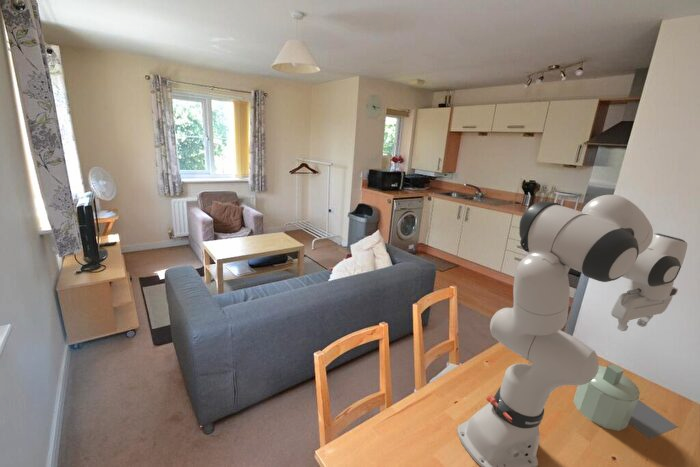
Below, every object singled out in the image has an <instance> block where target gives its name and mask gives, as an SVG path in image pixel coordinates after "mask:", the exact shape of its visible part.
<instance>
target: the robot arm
mask: <svg viewBox="0 0 700 467" xmlns="http://www.w3.org/2000/svg"><path fill="white" fill-rule="evenodd" d="M518 230H519V232H518V233H519V237H520V242H519V243H520V246H521V249H522V250H524V251H525V252H527V253H528V254H527V255H526V256H525V257H523V258H522V259H521V260H520V261H519V263H518V264H517V266H516V269H515V274H514V277H513V278H514V279H513V287H512V290H513V294H512V295H513V306H512V307H503V308H501V309H498V310H497V311H496V312H495V313H494V314H493V316H492V317H491V320H490V323H489V328H490V329H489V330H490V334H491V336H492V337H493V338H494V339H495V340H497V341H498V343H500V344H501V345H502V346H504V347H505V348H506V349H508V350H509V351H511V352H513V353H515V354H517V355H518V356H520V357H521V358H523V359H525V361H528V362H529V363H531V364H529V363H514V364H511V365H510V366H508V367H507V369H506V370H505V372H504V375H503V379H502V381H501V385H500V386H499V388H498V389H497V390H496V392H495V394H494V396H493V395H492V394H488V395H487V397H486V399H485V400H486V401H487V402H488V403H487V404H485V405H484V406H483V407H482V408H480V409H479V410H478V411H477V412H475V413H474V414H473V415H471V417H470V418H469V419H468V420H466V421H465V422H463V423H460V424H459V425H458V427H457V429H456V431H457V435H458V436H457V437H458V438H459V440H460V442H461V444H462V446H463V447H464V449H465V450H466V452H467V453H468V454H469V456H470V457H471V458H472V459H473V460H474V461H475V462H476V463H477V464H478V465H479V466H480V467H538V465H539V460H538V458H537V454H538V449H539V444H540V439H541V434H540V424H541V423H542V420H543V418H544V415H545V406H546V403H547V401H548V398H549V397H550V395H551V393H553V391H554V390H556V389H557V388H558V389H559V388H560V387H563V386H578V385H583V384H586V383H588V382H590V381H591V380H593V379H594V378H595V376H596V375H597V373H598V369H599V366H600V362H599V361H600V360H599V356H598V354H597V352H596V351H595V350H594V349H592V348H591V347H590V346H588V345H587V344H586V343H584V342H583V341H582V340H580V339H578V338H577V337H576V336H573V335H572V334H569V333H567V332H565V331H563V330H562V329H563V328H565V325H566V324H567V322H568V317H569V316H568V315H569V306H570V297H571V296H570V295H571V290H570V287H571V286H570V281H569V280H570V279H569V272H570V270H571V269H573V270H575V271H577V272H579V273H582V274H583V276H585V277H587V278H589V279H592V280H595V281H598V282H601V283H608V282H613V281H615V280H618V279H620V278H621V277H622V278H625V279H628V280H629V282H628V284H627V289H628V290H627V291H626V292H624V293H623V292H622V293H621V294H620V295H619V296H618V297H617V299H616V301H615V303H614V305H613V307H612V310H611V316H612V317H613V318H615V319H617V322H618V325H617V327H616V328H617V330H619V331H620V332H626V331H627V330H628V328H629V326H628V323H629V322H630V321H632V320H633V321H634V320H636V319H637V322H636V325H637V326H639V327H641V328H643V327H646V326H647V325H648V322H650V320H651V319H652V318H653V317H654V316H656V315H661V314H663V313H664V312H666V310H667V308H668V307H669V305H670V304H671V301H672V300H673V296H676V295H677V294H678V291H679V289H678V288H677V287H675V286H673V285H674V282H675V280H676V279H677V277H678V275H679V273H680V271H681V268H682V267H683V266H682V265H683V263H684V260H685V257H686V253H687V249H688V243H687V241H685V240H684V239H682V238H678V237H675V236H671V235H666V234H662V233H654V230H653V227H652V224H651V222H650V221H649V219H648V218H647V216H646V215H645V213H644V212H643V211H642V210H641V209H640V208H639V206H637V205H636V204H635V203H633V202H632V201H630V200H629V199H628V198H626V197H623V196H621V195H616V194H603V195H599V196H596V197H595V198H592V199H591V200H590V201H588V202H587V203H586V204H585V205H584V206H583V208H582V210H577V209H574V208H570V207H567V206H564V205H562V204H560V203H558V202H554V201H547V200H546V201H545V200H540V201H537V202H535V203H534V204H532V205H530V207H528V208H527V209H525V211H524V212H523V214H522V216H521V218H520V221H519V228H518Z"/></svg>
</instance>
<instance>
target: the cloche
mask: <svg viewBox="0 0 700 467" xmlns="http://www.w3.org/2000/svg"><path fill="white" fill-rule="evenodd" d="M624 371H625V370H623V369H622V368H621V367H619V366H617V365H615V364H614V363H612V364H611V365H610V364H609V365H607V366H603V365H599V369H598V373H597V375H596V376H595V378H594V379H593V380H591V381H590V382H588V383H586V384H583V385H577V387H576V391H575V393H574V397H573V403H574V405H575V407H576V408H577V410H578V412H580V413H581V414H582V415H583V416H584V417H586V418H587V419H588V420H589V421H591V422H592V423H594V424H596V425H599V426H600V427H602V428H604V429H607V430H612V431H618V432H619V431H622V430H624V429H626V428H628V425H629V421H630V418H631V416H632V414H633V411H634V409H635V407H636V404H637V402H638V400H640V395H641V394H640V390H639V386H637V384H635V383H634V382H633V381H632V380H631V379H630V378H629V377H627V376H626V375H625V374H623V373H624Z"/></svg>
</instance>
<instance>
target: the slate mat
mask: <svg viewBox="0 0 700 467" xmlns="http://www.w3.org/2000/svg"><path fill="white" fill-rule="evenodd" d="M628 425H630V426H632V427H633V428H634V429H635V430H637V431H638V432H640V433H641V434H642V435H644V436H645V437H646V438H648V440H652V439H654V438H656V437H658V436H661V435H663V434H665V433H667V432H670V431H671V430H674V429H676V428H678V425H676V424H675V423H673V422H672V421H671V420H669V419H667V418H666V417H665V416H664V415H661V414H660V413H659V412H658V411H656V410H654V409H653V408H651V407H650V406H648V404H646V403H644V402H643V401H641V400H640V399H639V400H638V402H637V404H636V407H635V409H634V411H633V414H632V416H631V418H630V421H629V423H628Z"/></svg>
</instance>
